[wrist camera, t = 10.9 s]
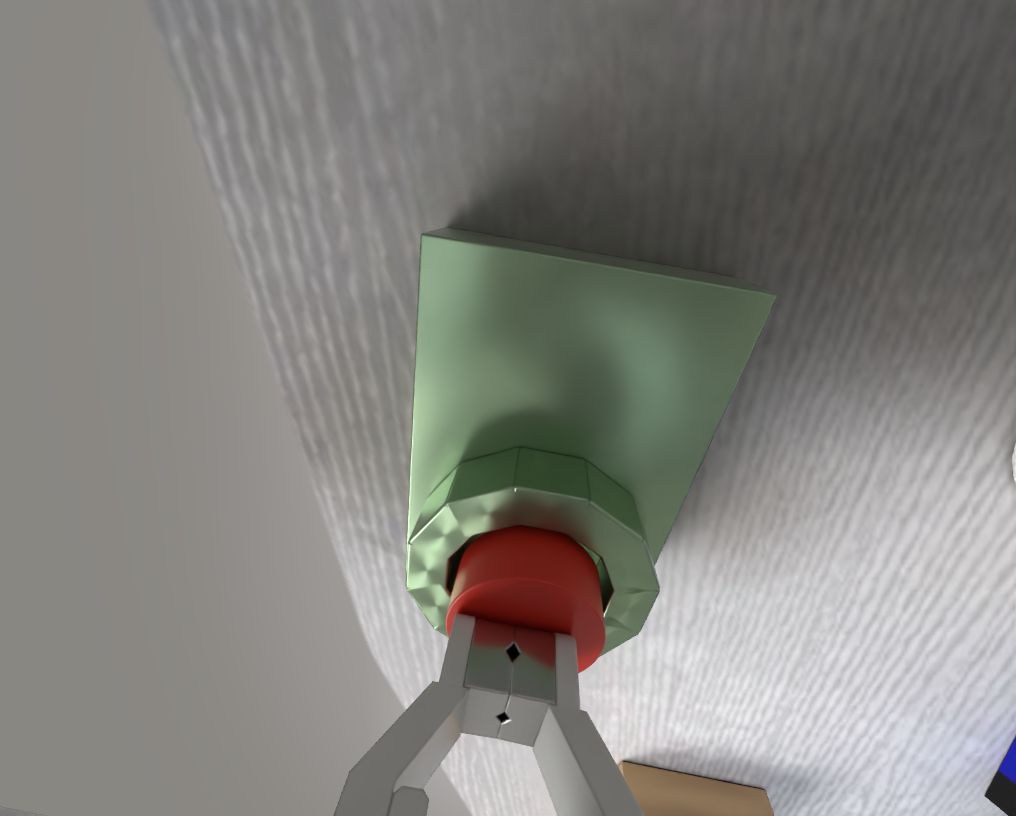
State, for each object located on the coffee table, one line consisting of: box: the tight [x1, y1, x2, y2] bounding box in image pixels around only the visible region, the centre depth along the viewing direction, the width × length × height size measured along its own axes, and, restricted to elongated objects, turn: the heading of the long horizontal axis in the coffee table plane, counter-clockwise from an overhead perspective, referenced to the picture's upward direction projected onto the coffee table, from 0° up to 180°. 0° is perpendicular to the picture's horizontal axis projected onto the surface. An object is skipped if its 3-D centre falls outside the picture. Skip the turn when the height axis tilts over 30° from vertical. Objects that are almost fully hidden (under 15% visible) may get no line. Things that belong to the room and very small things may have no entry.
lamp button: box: [446, 525, 606, 673], centre depth 11 cm, size 4×4×2 cm
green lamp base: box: [405, 227, 777, 657], centre depth 12 cm, size 12×8×4 cm, turn 171°
